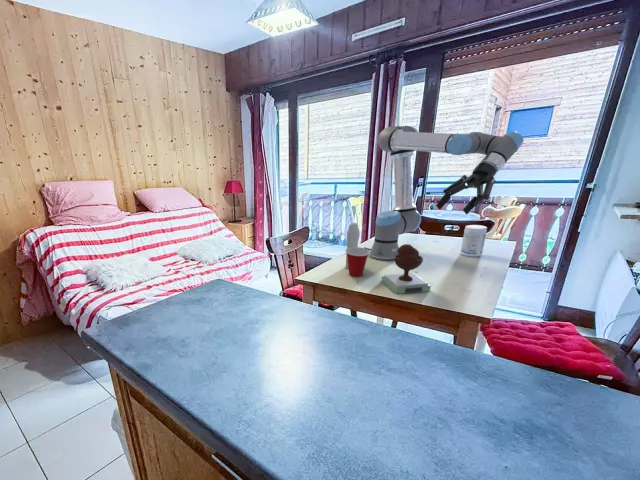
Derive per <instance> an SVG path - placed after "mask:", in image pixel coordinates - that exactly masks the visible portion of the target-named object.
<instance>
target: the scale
mask: <svg viewBox="0 0 640 480" xmlns="http://www.w3.org/2000/svg"><path fill="white" fill-rule="evenodd" d="M402 275H404V273H394V274H393V273H392V274H384V275H383V276H381V282H382V283H383V284H384V285H385V286H386V287H388V289H389V290H391V291H392V292H393V293H394V294H396V295H398V294H410V293H411V294H412V293H422V292H423V293H424V292H431V285H430V284H429V283H428V282H427V281H426V280H424V279H423V278H421V277H419V276H418V275H416V274H415V273H413V272H409V274H408V275H409V276H411V277H412V279H413V280H412V281H401V280H399V277H400V276H402Z"/></svg>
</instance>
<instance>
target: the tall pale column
mask: <svg viewBox="0 0 640 480" xmlns="http://www.w3.org/2000/svg"><path fill="white" fill-rule="evenodd" d="M360 230H361V228H360V225H359V222H352V223H350V224H349V225H348V230H347V231H346V243H347V244H346V249H347V248H351V247H359V237H360ZM345 269H348V270H349V268H348V260H347V253H346V254H345Z"/></svg>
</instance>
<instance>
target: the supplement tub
mask: <svg viewBox="0 0 640 480" xmlns="http://www.w3.org/2000/svg"><path fill="white" fill-rule="evenodd" d="M487 232H488V227H487V226H485V225H480V224H469V225H465V228H464V230H463V236H462V241H461V248H460V254H461V255H463V256H465V257H473V258H475V257H481V256H482V255H483V251H484V247H485V242H486V237H487Z"/></svg>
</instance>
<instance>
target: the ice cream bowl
mask: <svg viewBox="0 0 640 480" xmlns="http://www.w3.org/2000/svg"><path fill="white" fill-rule="evenodd" d="M398 253H399V254H397V255H395V256H394V259H395V260H394V263H395V265H396V266H397V267H398V268H399V269H400V270H403V274H404V275H402V276H400V277H399V280H401V281H412V280H413V279H412V277H411V276H409V275H408V274H409V273H410V271H413V270H415V269H417V268H419V267H420V266H421V265H422V264H423V262H424V257H423V256H422V255H420V251H419V250H418V249H417V248H416V247H414V246H413V245H412V244H409V243H405V244H404V243H403V244H402V245H400V246H399V249H398Z"/></svg>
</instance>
